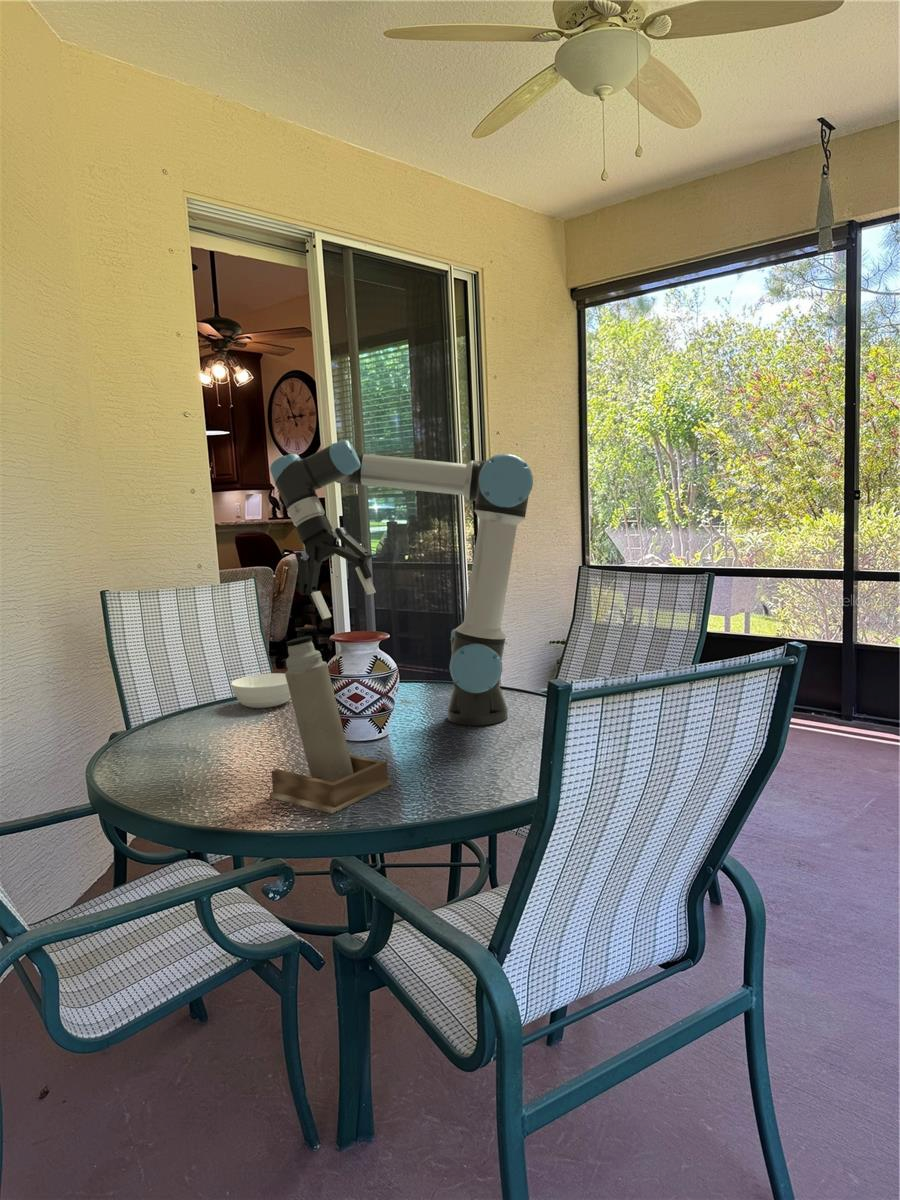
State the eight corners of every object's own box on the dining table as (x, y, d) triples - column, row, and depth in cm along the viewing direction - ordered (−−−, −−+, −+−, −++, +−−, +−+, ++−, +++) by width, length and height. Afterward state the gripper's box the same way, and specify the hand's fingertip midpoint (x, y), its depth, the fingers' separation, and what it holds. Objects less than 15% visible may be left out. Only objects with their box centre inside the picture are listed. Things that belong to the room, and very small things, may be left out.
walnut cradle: (269, 797, 140) (268, 772, 139) (330, 771, 153) (328, 748, 152) (332, 813, 130) (330, 787, 130) (390, 784, 143) (389, 760, 143)
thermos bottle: (306, 784, 144) (270, 644, 142) (341, 769, 149) (308, 633, 147) (324, 790, 138) (287, 643, 135) (361, 774, 143) (326, 632, 140)
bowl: (258, 695, 224) (256, 672, 223) (311, 698, 217) (309, 674, 217) (219, 711, 207) (217, 685, 206) (275, 715, 200) (273, 688, 200)
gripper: (261, 546, 171) (299, 630, 170) (341, 495, 160) (382, 584, 159) (282, 544, 178) (318, 625, 176) (360, 495, 167) (399, 580, 165)
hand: (349, 606), depth 167 cm, fingers open, 13 cm apart
